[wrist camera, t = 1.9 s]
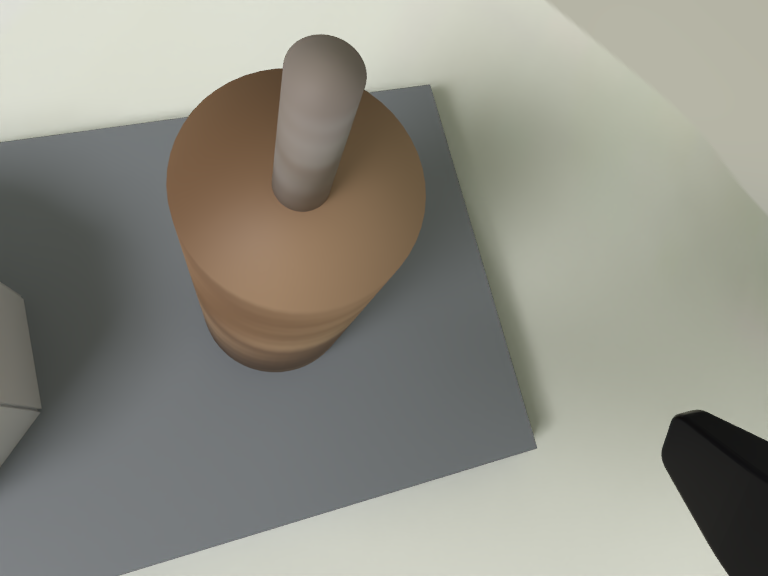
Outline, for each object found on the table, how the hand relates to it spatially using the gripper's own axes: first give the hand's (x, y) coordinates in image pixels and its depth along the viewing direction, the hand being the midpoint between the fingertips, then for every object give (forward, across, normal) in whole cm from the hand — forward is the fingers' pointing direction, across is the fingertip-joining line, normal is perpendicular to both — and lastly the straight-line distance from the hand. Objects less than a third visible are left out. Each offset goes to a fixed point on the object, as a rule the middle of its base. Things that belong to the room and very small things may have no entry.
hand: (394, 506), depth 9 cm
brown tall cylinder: (+11, 0, +4) cm, 12 cm away
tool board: (+12, +6, +5) cm, 14 cm away
